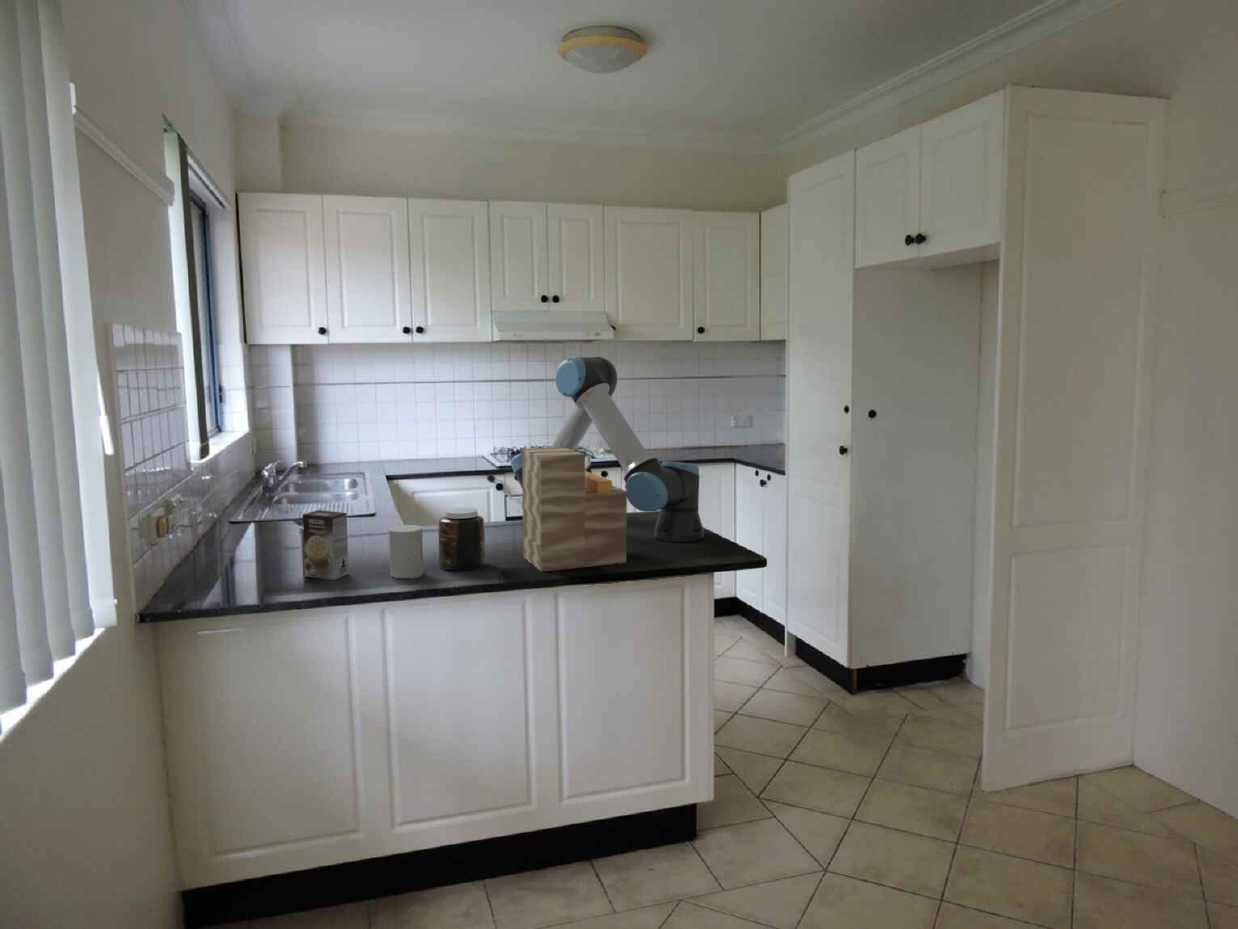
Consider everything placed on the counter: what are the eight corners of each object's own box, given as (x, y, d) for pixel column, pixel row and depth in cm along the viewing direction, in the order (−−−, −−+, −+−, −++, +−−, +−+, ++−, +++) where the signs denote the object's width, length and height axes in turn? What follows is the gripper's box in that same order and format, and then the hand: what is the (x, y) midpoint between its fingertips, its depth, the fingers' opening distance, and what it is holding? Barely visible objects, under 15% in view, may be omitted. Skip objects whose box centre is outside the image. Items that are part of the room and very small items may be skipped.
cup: (414, 579, 210) (413, 532, 209) (384, 577, 212) (383, 531, 210) (428, 571, 218) (427, 525, 217) (399, 569, 220) (397, 524, 218)
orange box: (611, 492, 224) (611, 480, 224) (597, 492, 223) (598, 481, 222) (577, 477, 248) (577, 467, 248) (564, 478, 246) (564, 468, 246)
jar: (463, 574, 216) (462, 516, 214) (430, 567, 222) (428, 511, 220) (493, 564, 226) (493, 509, 224) (461, 558, 232) (459, 504, 230)
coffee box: (303, 576, 212) (300, 514, 210) (320, 570, 218) (317, 509, 216) (333, 580, 209) (331, 516, 207) (350, 574, 215) (347, 512, 213)
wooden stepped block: (626, 562, 228) (626, 452, 224) (540, 571, 219) (539, 456, 214) (602, 548, 243) (602, 445, 239) (521, 556, 234) (520, 449, 230)
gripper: (586, 495, 270) (609, 470, 252) (511, 501, 260) (529, 475, 242) (582, 474, 273) (604, 447, 254) (507, 478, 263) (524, 451, 244)
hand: (567, 461), depth 248 cm, fingers open, 13 cm apart
